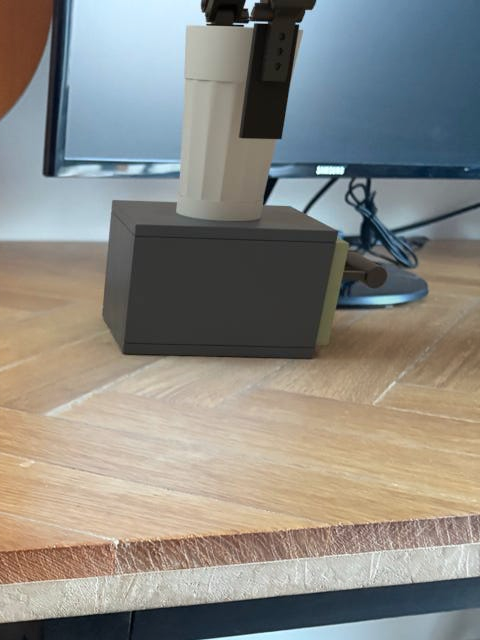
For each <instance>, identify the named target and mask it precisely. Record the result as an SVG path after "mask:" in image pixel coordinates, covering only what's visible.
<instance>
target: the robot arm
mask: <svg viewBox="0 0 480 640" xmlns="http://www.w3.org/2000/svg"><path fill="white" fill-rule="evenodd" d="M246 2H247V0H201V1H200V10H201V13H203V14H204V17H205V26H230V27H245V25H247V24H249V23H250V22H251V23H252V22H254V23H253V27H254V28H253V36H252V43H251V50H250V58H249V65H248V73H247V80H246V88H245V95H244V102H243V110H242V117H241V125H240V132H239V138H244V139H277V140H283V134H284V127H285V122H286V121H285V120H286V115H287V114H286V113H287V108H288V102H289V101H288V100H289V95H290V89H291V88H290V87H291V83H292V79H291V76H292V77H293V75H292V69H293V63H294V56H295V50H296V44H297V37H298V31H299V30H300V24H301V23H303V20H304V17H305V15H306V11H312V10H314V8H315V6H316V3H317V0H259V2H254V5H253V6H252V9H251V11H249V8H245V5H246ZM249 12H250V13H249ZM290 82H291V83H290Z"/></svg>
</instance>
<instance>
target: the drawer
mask: <svg viewBox="0 0 480 640" xmlns="http://www.w3.org/2000/svg"><path fill="white" fill-rule="evenodd" d="M335 243H336V247H335V252H334V257H333V261H332V266H331V271H330V276H329V281H328V286H327V291H326V296H325V301H324V306H323V311H322V316H321V321H320V326H319V331H318V336H317V341H316V345H321V346H324V345H325V346H328V345H329V344H330V340H331V334H332V329H333V324H334V319H335V314H336V309H337V305H338V299H339V296H340V290H341V284H342V281H357V282H358V281H359V282H361V283H362V284H364V285H366V286H368V287H369V288H371V289H378V288H381V287H383V285H384V284H385V283H386V282H387V280H388V272H387V270H386V268H385V267H383V266H382V265H380V264H378V263H376V262H374V261H372V260H370V259H368V258H367V257H365V256H363V255H361V254H360V253H357V252H356V251H351V250H350V251H349V248H350V247H349V246H350V243H349V242H347V241H346V240H344V239H342V238H340V237H337V241H336V242H335Z"/></svg>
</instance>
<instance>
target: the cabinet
mask: <svg viewBox="0 0 480 640" xmlns="http://www.w3.org/2000/svg"><path fill="white" fill-rule="evenodd" d="M176 208H177V201H157V200H156V201H153V200H129V199H128V200H127V199H125V200H124V199H123V200H122V199H112V201H111V211H110V218H109V219H110V220H109V222H110V223H109V232H108V242H107V254H106V255H107V256H106V266H105V276H104V287H103V297H102V298H103V300H102V312H101V316H102V318H103V320H104V322H105V324H106V326H107V327H108V329H109V330H110V333H111V335H112V336H113V338H114V340H115V342H116V344H117V346H118V348H119V349H120V351H121V353H122V354H124V355H150V356H151V355H154V356H155V355H158V356H200V357H237V358H238V357H241V358H276V359H277V358H278V359H279V358H281V359H282V358H283V359H313V358H314V354H315V351H316V349H315V348H316V345H317V344H316V341H317V336H318V331H319V326H320V321H321V316H322V311H323V306H324V301H325V296H326V291H327V286H328V281H329V276H330V271H331V266H332V261H333V257H334V252H335V247H336V243H335V242H336V241H337V237H338V236H339V230H338V229H336V228H333V227H332V226H329V225H328V224H326V223H324V222H322V221H321V220H318V219H316V218H314V217H312V216H310V215H309V214H306V212H305V213H304V212H302V211H300V210H299V209H298V208H297V209H296V208H295V207H293V206H291V205H277V204H275V205H271V204H263V206H262V213H261V218H260V219H257V220H251V221H218V220H207V219H199V218H192V217H187V216H183V215H180V214H178V213H177V212H176ZM338 238H339V237H338Z"/></svg>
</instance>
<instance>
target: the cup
mask: <svg viewBox="0 0 480 640" xmlns="http://www.w3.org/2000/svg"><path fill="white" fill-rule="evenodd" d="M253 28H254V26H253V27H252V26H251V27H250V26H244V27H230V26H206V25H194V24H193V25H192V24H188V25H186V26H185V44H184V45H185V46H184V68H183V69H184V70H183V71H184V73H183V74H184V75H183V78H184V87H183V88H184V89H183V106H182V107H183V108H182V109H183V110H182V125H181V126H182V130H181V144H180V145H181V147H180V148H181V149H180V167H179V184H178V185H179V186H178V193H177V200H176V202H177V208H176V212H177V213H178V214H180V215H183V216H187V217H192V218H199V219H207V220H218V221H251V220H257V219H260V218H261V213H262V206H263V205H264V200H265V199H264V196H265V192H266V188H267V185H268V184H267V183H268V179H269V174H270V172H271V171H270V170H271V166H272V162H273V157H274V153H275V149H276V145H277V141H278V139H244V138H239V132H240V125H241V117H242V110H243V102H244V95H245V88H246V80H247V73H248V65H249V58H250V50H251V43H252V36H253ZM303 34H304V29H299V31H298V37H297V44H296V50H295V56H294V63H293V69H292V76H291V80H292V79H293V76H294V75H293V74H294V71H295V67H296V62H297V58H298V55H299V50H300V46H301V42H302V38H303ZM291 83H292V81H291V82H290V84H291Z"/></svg>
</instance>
